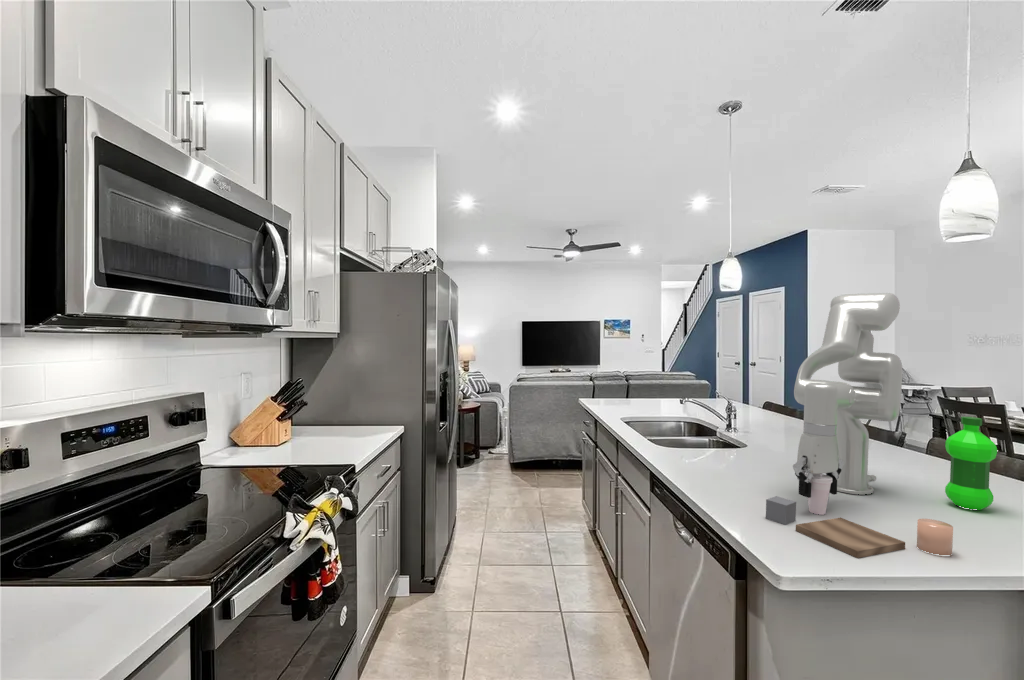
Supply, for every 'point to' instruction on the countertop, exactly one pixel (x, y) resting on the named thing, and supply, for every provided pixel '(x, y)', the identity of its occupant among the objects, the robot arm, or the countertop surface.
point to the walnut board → (850, 537)
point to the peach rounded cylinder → (934, 536)
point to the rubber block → (781, 510)
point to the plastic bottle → (970, 466)
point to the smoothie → (819, 493)
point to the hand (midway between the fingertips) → (817, 494)
